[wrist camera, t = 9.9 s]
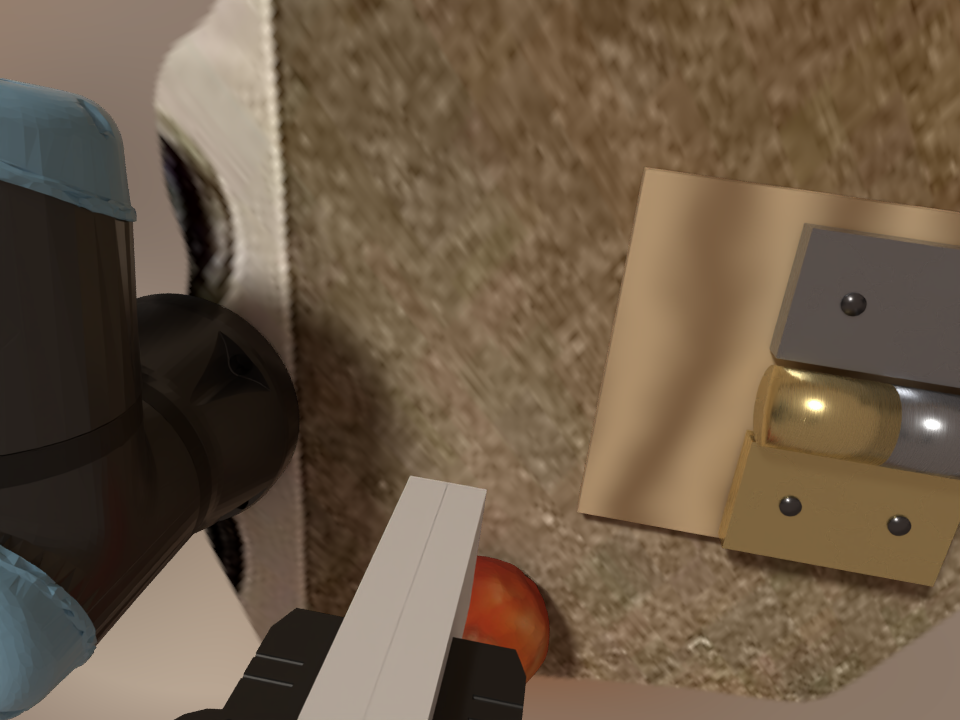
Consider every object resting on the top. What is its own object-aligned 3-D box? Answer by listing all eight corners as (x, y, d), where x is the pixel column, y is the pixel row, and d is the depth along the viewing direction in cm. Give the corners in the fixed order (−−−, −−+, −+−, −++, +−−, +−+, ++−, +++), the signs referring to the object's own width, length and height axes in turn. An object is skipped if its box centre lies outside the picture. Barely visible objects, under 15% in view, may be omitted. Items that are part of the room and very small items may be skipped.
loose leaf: (717, 532, 46) (730, 576, 42) (767, 353, 42) (787, 382, 38) (921, 570, 45) (954, 618, 41) (993, 390, 41) (1038, 423, 37)
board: (577, 502, 48) (577, 512, 47) (644, 167, 41) (645, 169, 40) (925, 565, 47) (934, 577, 46) (1061, 226, 39) (1074, 231, 38)
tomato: (580, 604, 51) (579, 693, 44) (478, 666, 54) (459, 759, 46) (491, 506, 49) (474, 580, 42) (390, 575, 52) (357, 656, 45)
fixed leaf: (748, 425, 44) (764, 460, 39) (804, 222, 39) (829, 238, 35) (974, 463, 43) (1014, 503, 38) (1056, 259, 38) (1112, 280, 34)
